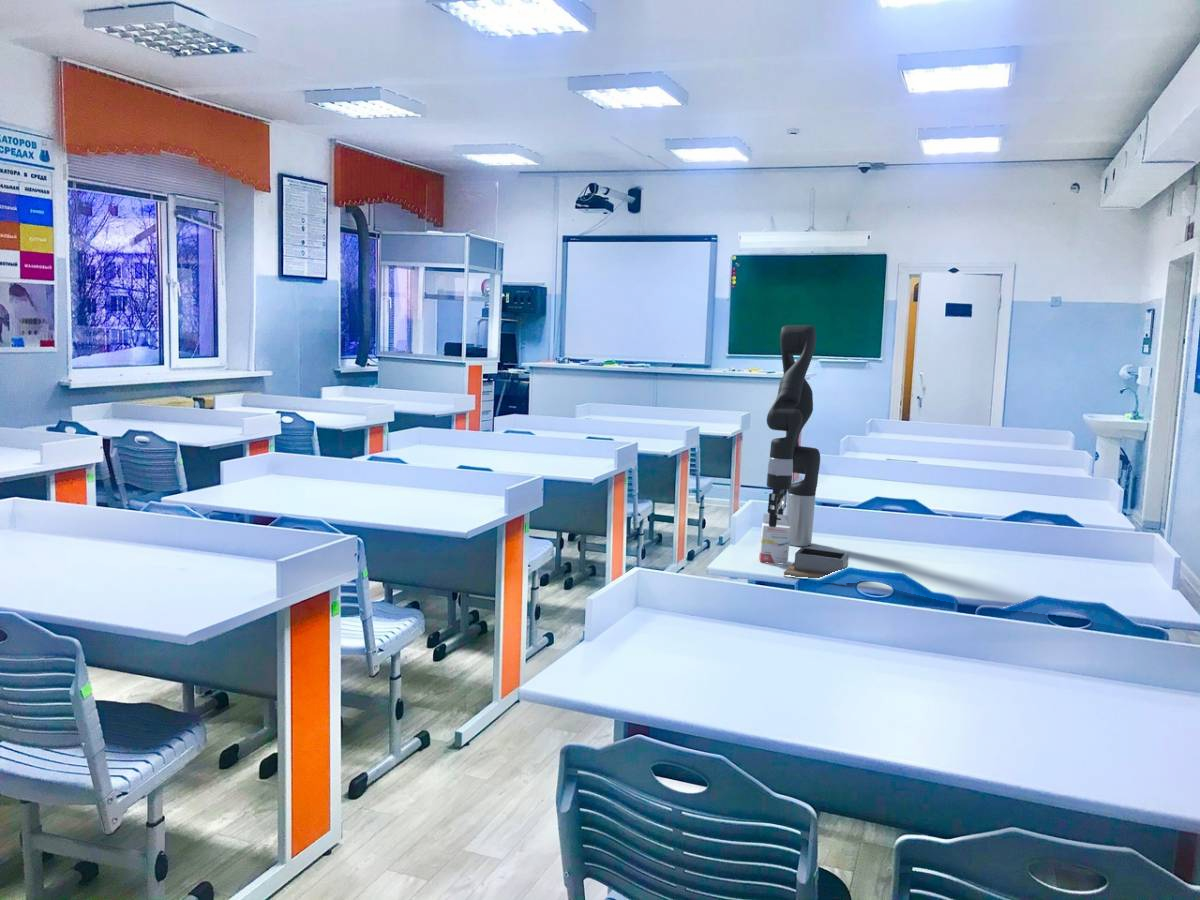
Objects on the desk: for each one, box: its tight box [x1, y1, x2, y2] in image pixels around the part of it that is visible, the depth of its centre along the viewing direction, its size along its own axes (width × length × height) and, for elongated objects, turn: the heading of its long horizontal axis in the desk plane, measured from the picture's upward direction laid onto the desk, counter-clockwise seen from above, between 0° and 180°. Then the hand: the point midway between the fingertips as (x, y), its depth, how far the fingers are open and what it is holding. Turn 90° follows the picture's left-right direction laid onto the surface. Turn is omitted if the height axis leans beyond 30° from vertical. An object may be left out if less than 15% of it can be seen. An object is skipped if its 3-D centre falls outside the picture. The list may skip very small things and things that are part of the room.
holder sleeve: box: [793, 546, 850, 575], centre depth 288 cm, size 10×14×5 cm
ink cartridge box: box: [758, 513, 791, 565], centre depth 301 cm, size 9×5×15 cm, turn 84°
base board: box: [783, 561, 825, 578], centre depth 289 cm, size 18×18×2 cm
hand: (775, 524), depth 301 cm, fingers open, 8 cm apart
